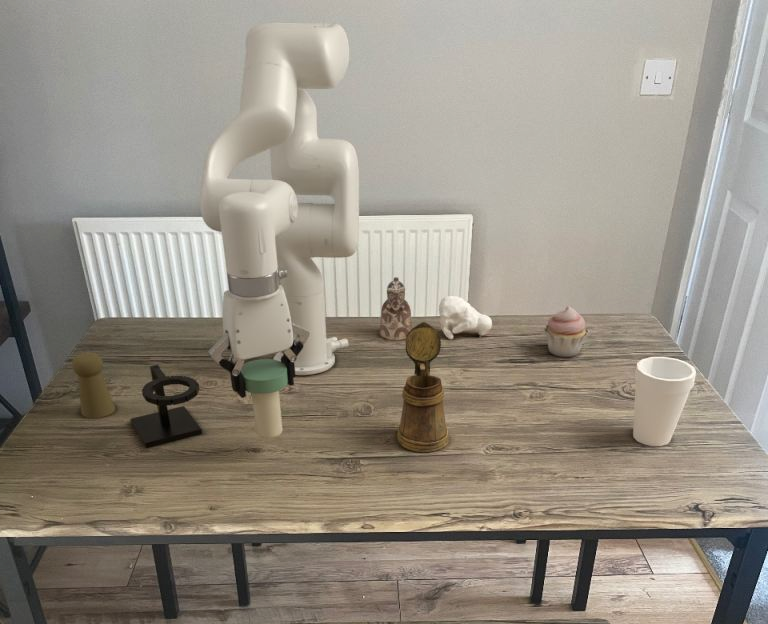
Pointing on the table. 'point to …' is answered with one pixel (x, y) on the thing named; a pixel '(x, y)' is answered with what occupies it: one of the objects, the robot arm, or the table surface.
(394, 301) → the figurine
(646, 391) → the foam cup
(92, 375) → the tan pawn
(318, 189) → the robot arm
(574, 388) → the table surface
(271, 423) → the canister
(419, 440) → the wooden mug
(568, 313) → the cupcake
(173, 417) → the holder
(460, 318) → the white animal statue
